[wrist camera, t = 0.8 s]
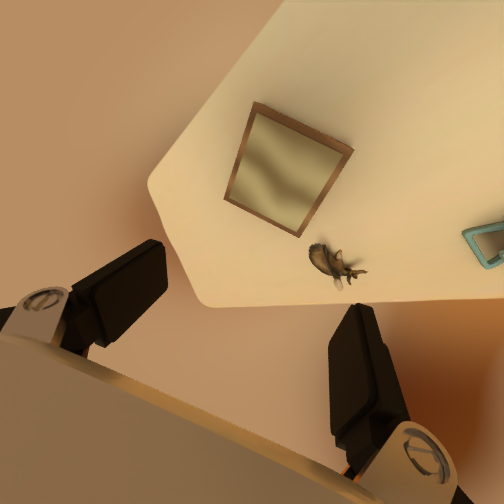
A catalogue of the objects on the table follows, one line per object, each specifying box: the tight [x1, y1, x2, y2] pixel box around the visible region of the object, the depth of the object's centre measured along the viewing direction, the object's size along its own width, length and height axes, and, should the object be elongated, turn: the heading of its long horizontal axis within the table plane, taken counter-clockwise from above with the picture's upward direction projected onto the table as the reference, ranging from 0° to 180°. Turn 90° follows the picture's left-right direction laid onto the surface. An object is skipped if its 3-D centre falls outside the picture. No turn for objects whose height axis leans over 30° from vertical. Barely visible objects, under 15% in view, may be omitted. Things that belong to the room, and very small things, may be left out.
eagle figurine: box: [309, 244, 367, 291], centre depth 38 cm, size 8×7×9 cm
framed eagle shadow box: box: [224, 102, 354, 238], centre depth 33 cm, size 15×15×5 cm
